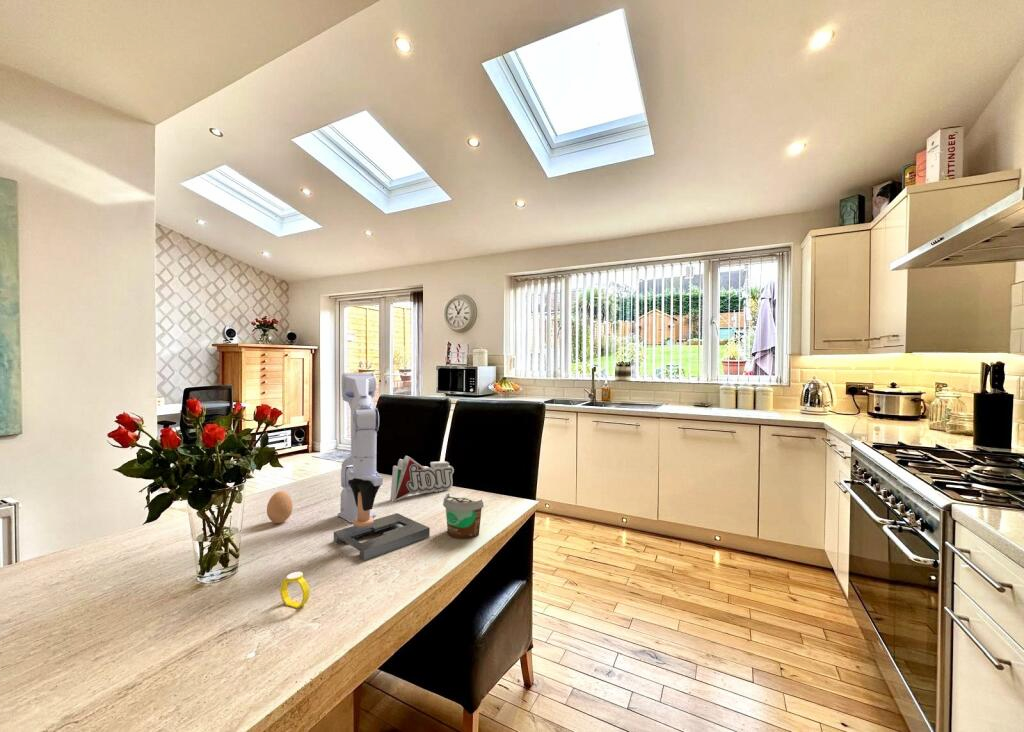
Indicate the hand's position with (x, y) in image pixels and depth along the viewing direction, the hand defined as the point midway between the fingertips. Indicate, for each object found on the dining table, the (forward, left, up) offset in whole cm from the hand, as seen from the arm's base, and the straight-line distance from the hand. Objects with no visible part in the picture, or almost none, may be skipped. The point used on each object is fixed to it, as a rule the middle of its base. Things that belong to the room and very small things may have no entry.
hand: (364, 508), depth 106 cm
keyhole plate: (0, +6, -9) cm, 11 cm away
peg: (0, 0, -4) cm, 4 cm away
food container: (+13, +21, -10) cm, 26 cm away
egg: (-32, -9, -10) cm, 34 cm away
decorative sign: (-24, +36, -10) cm, 44 cm away
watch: (+15, -22, -10) cm, 29 cm away
